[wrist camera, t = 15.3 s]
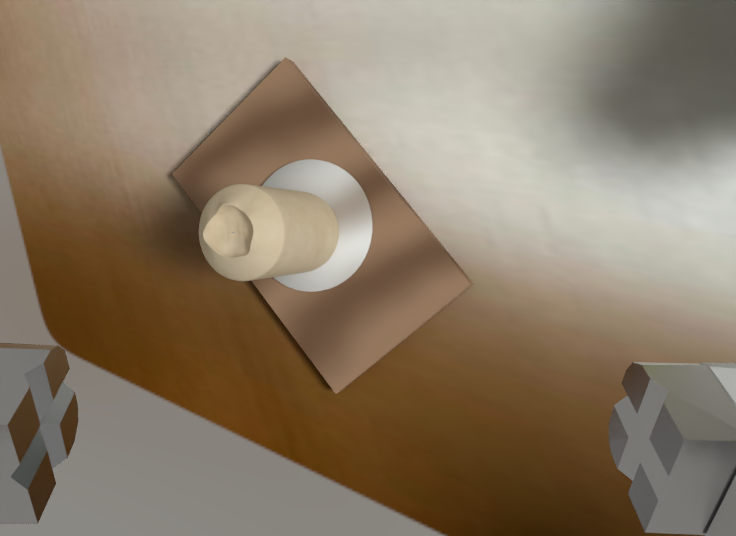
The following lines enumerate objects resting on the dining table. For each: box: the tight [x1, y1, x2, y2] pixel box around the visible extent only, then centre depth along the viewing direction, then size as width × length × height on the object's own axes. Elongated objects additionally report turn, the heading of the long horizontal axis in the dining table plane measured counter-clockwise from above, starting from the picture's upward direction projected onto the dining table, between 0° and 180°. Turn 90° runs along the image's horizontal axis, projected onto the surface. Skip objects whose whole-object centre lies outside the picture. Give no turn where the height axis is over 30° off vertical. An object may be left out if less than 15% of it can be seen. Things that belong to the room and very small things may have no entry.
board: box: [172, 57, 473, 394], centre depth 48 cm, size 20×12×2 cm, turn 40°
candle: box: [199, 184, 339, 281], centre depth 42 cm, size 6×6×10 cm
